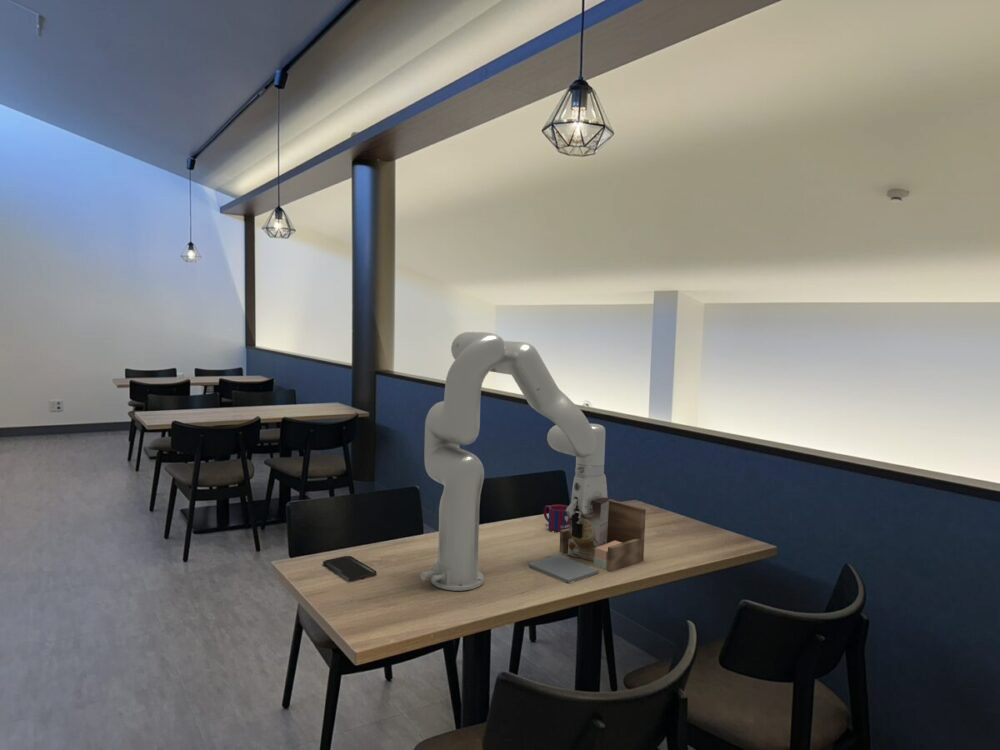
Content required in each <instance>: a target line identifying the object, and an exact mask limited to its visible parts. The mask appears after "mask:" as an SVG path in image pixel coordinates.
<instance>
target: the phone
mask: <svg viewBox="0 0 1000 750" xmlns="http://www.w3.org/2000/svg"><path fill="white" fill-rule="evenodd" d="M322 566H324V567H325V569H328V570H330V571H331V572H332V573H334V574H335V575H336V576H338V577H339V578H341V579H343V580H344V581H346V582H349V583H355V582H357V581H362V580H366V579H369V578H373V577H374V578H375V577H376V576H377V575H378V574H377V571H376V570H375V569H373V568H372V567H370V566H368V565H367V564H365V563H363V562H362V561H360V560H358V559H356V558H355V557H354V556H351V555H343V556H339V557H333V558H330V559H325V560H323V561H322Z"/></svg>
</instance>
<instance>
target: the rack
mask: <svg viewBox="0 0 1000 750" xmlns="http://www.w3.org/2000/svg"><path fill="white" fill-rule="evenodd" d="M646 512H647V511H646V508H644V507H640V506H636V505H633V504H629V503H625V502H621V501H618V500H615V499H611V498H609V512H608V530H607V543H610V542H612V541H618V542H622V543H620V544H617V545H613V546H610V547H608V558H607V569H606V571H608V572H614V571H617V570H619V569H622V568H626V567H628V566H631V565H634V564H637V563H641V562H643V561H644V554H645V553H644V552H645V534H646V533H645V531H646V530H645V529H646ZM568 542H569V528H568V529H564V530H560V533H559V553H562V554H565V553H568Z"/></svg>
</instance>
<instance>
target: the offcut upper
mask: <svg viewBox="0 0 1000 750" xmlns="http://www.w3.org/2000/svg"><path fill="white" fill-rule="evenodd" d="M620 543H622V542H618V541H612V542H610V543H607V544H604V545H602V546H599V547H596V548H595V557H596V558H599V559H602V560H605V561H607V558H608V547H610V546H613V545H617V544H620Z"/></svg>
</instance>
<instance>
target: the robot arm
mask: <svg viewBox="0 0 1000 750" xmlns="http://www.w3.org/2000/svg"><path fill="white" fill-rule="evenodd" d="M450 347H451V349H450V351H451V354H452V357H453V359H454V361H453V362H452V364H451V365H450V368H449V370H448V372H447V375H446V379H445V385H444V397H443V400H442V401H439V402H436V403H435V404H433V405H432V407H431V408H430V409H429V410H428V412H427V415H426V417H425V421H424V449H423V450H424V454H423V455H424V458H423V459H424V467H425V468H424V469H425V471H426V473H427V475H428V476H429V478H430V479H432V480H433V481H435V482H437V483H439V484H441V485H443V490H442V494H441V497H440V501H439V507H438V548H437V549H438V551H437V553H438V554H437V562H435V563H433V564H434V566H433V568H431V570H425V571H422V572H420V580H421V581H427V580H430V579H431V580H430V582H431V583H432V585H433V586H435V587H437V588H439V589H442V590H446V591H456V592H459V591H461V592H462V591H469V590H470V591H471V590H474V589H477V588H478V587H480V586H482V585H483V584H484V581H485V577H484V574H483V572H481V571H480V570H478V569H479V567H478V566H479V538H480V537H479V535H480V534H479V533H480V504H481V503H480V502H481V494H482V488H483V484H484V480H485V468H484V465H483V463H482V460H480V458H479V457H478V456H477V455H475V454H474V453H472V452H470V451H468V450H466V449H463V448H461V447H460V446H467V445H471V444H472V443H474V442H476V440H477V438H478V436H479V433H480V429H481V426H480V425H481V394H482V385H483V383H484V380H485V378H486V376H487V375H488V374H489V373H490V372H492V373H498V374H503V375H511V377H512V378H513V380H514V381H515V383H516V385H517V386H518V388H519V390H520V391H521V394H523V396H524V398H525V400H526V401H527V404H528V405H529V406H530V407H531V408H532V409H533V410H534V411H536V412H537V413H539V414H540V415H542V416H543V417H545V418H547V419H549V420H550V421H551V422H552V423H554V424H555V425H553V426H552V427H550V429H549V431H548V432H547V435H546V436H547V437H546V440H547V443H548V446H549V447H551V448H552V449H553V450H555V451H557V452H558V453H563V454H567V455H570V456H573V457H575V468H574V472H575V475H574V477H573V483H572V489H571V497H570V503H569V505H567V506H568V507H567V509H566V512H567V514H568V517H569V518H570V520H571V522H572V536H573V537H576V538H579V539H581V538H582V527H583V525H582V524H581V521H582V519H583V516H584V515H589V514H590V505H591V501H593V500H596V499H602V498H608V486H607V477H606V474H605V473H604V472H605V451H606V428H605V426H604V425H602V424H599V423H591V422H589V420H588V418H587V417H586V415H585V414H584V412H583V411H582V410H581V409H580V408H579V407H578V405H576V403H574V402H573V401H572V400H571V399H570V398H569V397H568V396H567V395H566V393H564V392H563V391H562V390H561V389H560V388H559V387H558V385H557V383H556V382H555V380H554V378H553V377H552V374H551V373H550V371H549V369H548V368H547V366H546V364H545V362H544V360H543V359H542V357H541V354H540V353H539V352H538V350H537V349H536V347H535V346H534V345H532V344H530V343H529V342H523V341H510V340H509V341H507V340H504V339H503V338H502V337H501V336H499V335H498V334H496V333H493V332H485V331H483V332H482V331H481V332H480V331H477V332H476V331H464V332H462V333H459V334H458V335H457V336H456V337H455V338H454V339H453V341H452V342H451V346H450ZM574 498H575V499H574ZM577 505H578V508H579V511H577ZM573 511H574V512H573ZM577 514H579V517H578V518H577Z"/></svg>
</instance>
